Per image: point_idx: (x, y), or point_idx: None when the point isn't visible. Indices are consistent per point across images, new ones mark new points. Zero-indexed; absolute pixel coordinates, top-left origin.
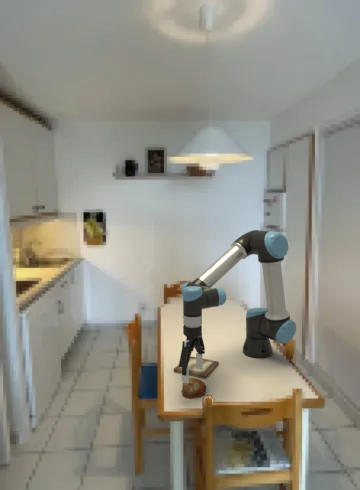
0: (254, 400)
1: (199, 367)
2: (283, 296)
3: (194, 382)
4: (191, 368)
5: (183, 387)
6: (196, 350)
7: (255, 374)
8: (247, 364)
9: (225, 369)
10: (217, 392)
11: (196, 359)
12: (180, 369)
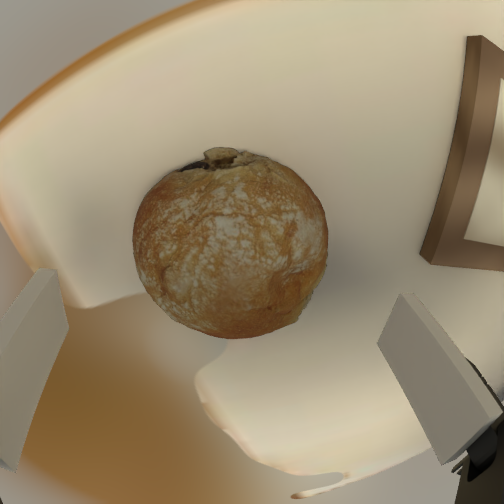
0: (249, 447)
1: (392, 335)
2: None
3: (192, 312)
4: (501, 155)
5: (153, 204)
6: (499, 469)
7: None
8: (500, 355)
9: (490, 307)
10: (275, 352)
11: (449, 366)
12: (486, 81)
